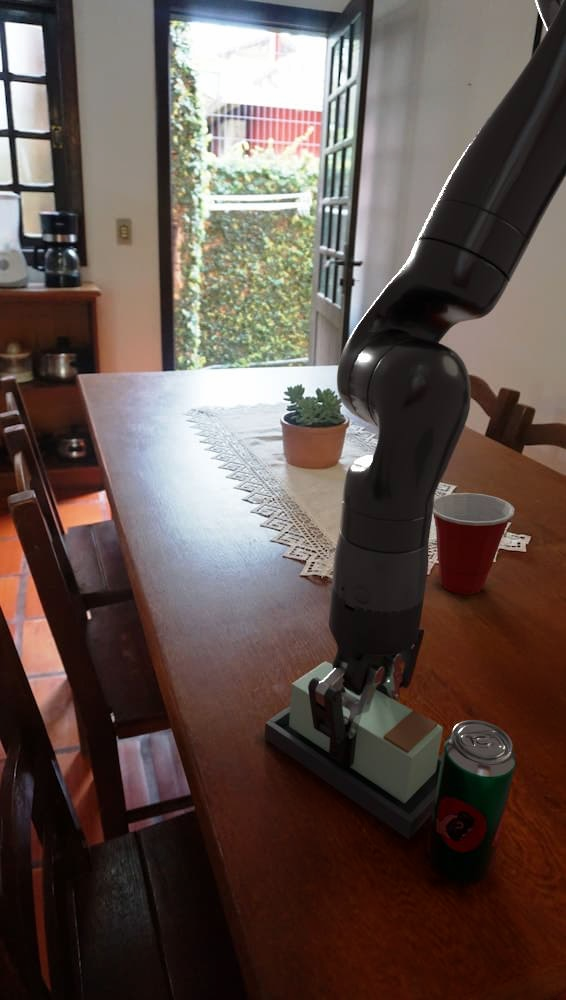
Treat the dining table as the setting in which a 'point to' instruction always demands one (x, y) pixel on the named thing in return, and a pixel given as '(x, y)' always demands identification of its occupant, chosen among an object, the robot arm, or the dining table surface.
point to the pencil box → (378, 738)
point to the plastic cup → (468, 538)
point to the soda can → (470, 801)
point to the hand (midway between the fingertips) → (360, 745)
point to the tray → (355, 779)
